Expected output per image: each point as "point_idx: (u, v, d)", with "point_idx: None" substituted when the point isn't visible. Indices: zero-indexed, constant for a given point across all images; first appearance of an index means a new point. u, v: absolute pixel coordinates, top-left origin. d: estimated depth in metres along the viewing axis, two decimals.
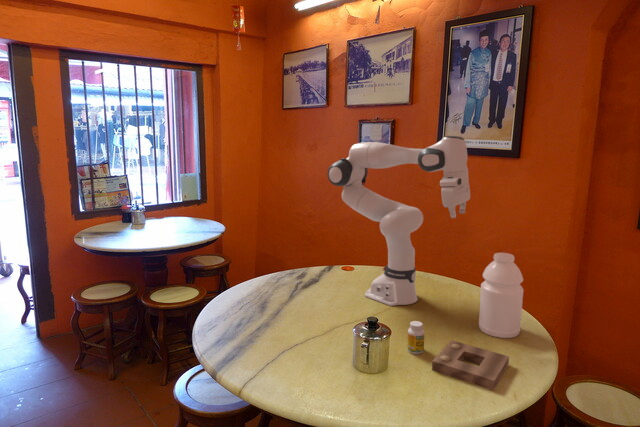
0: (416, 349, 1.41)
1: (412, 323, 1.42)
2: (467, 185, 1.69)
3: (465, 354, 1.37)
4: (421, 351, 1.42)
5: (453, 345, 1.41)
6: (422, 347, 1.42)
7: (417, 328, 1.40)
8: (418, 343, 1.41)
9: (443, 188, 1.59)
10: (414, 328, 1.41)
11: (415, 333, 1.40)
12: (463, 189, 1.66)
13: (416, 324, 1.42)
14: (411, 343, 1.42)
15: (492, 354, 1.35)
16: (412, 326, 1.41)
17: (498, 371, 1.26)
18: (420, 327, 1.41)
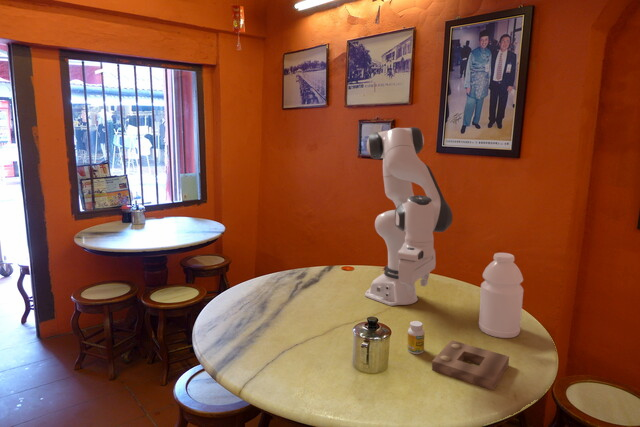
0: (416, 349, 1.41)
1: (412, 323, 1.42)
2: (432, 253, 1.42)
3: (465, 354, 1.37)
4: (421, 351, 1.42)
5: (453, 345, 1.41)
6: (422, 347, 1.42)
7: (417, 328, 1.40)
8: (418, 343, 1.41)
9: (401, 261, 1.32)
10: (414, 328, 1.41)
11: (415, 333, 1.40)
12: (426, 259, 1.40)
13: (416, 324, 1.42)
14: (411, 343, 1.42)
15: (492, 354, 1.35)
16: (412, 326, 1.41)
17: (498, 371, 1.26)
18: (420, 327, 1.41)
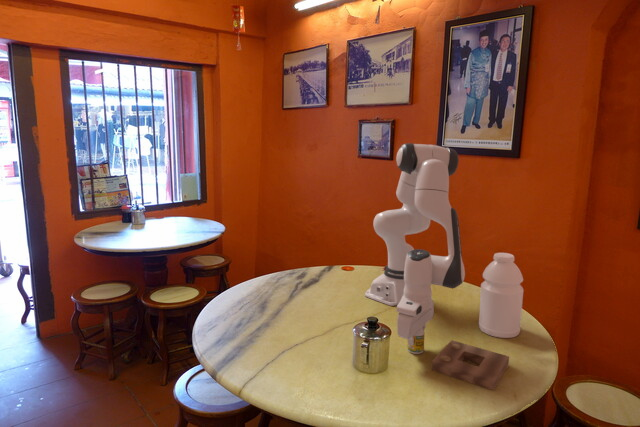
0: (416, 349, 1.41)
1: None
2: (430, 304, 1.46)
3: (465, 354, 1.37)
4: (421, 351, 1.42)
5: (453, 345, 1.41)
6: (422, 347, 1.42)
7: None
8: (418, 343, 1.41)
9: (400, 315, 1.35)
10: None
11: (415, 333, 1.40)
12: None
13: None
14: None
15: (492, 354, 1.35)
16: None
17: (498, 371, 1.26)
18: None
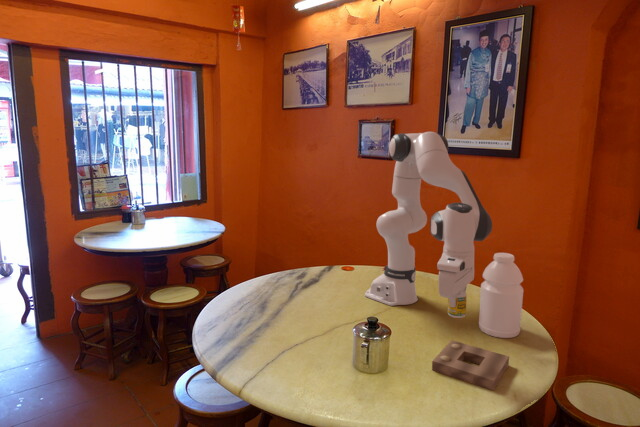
0: (458, 313, 1.30)
1: None
2: None
3: (465, 354, 1.37)
4: (463, 314, 1.31)
5: (453, 345, 1.41)
6: (464, 310, 1.30)
7: None
8: (460, 305, 1.30)
9: (441, 273, 1.24)
10: None
11: (457, 295, 1.29)
12: None
13: None
14: None
15: (492, 354, 1.35)
16: None
17: (498, 371, 1.26)
18: (462, 288, 1.30)
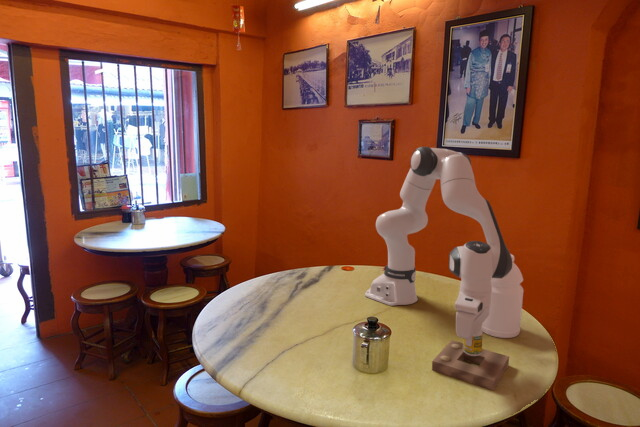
0: (474, 351, 1.30)
1: None
2: None
3: (465, 354, 1.37)
4: (479, 353, 1.30)
5: (453, 345, 1.41)
6: (480, 348, 1.30)
7: None
8: (476, 344, 1.29)
9: (459, 313, 1.24)
10: None
11: None
12: None
13: None
14: None
15: (492, 354, 1.35)
16: None
17: (498, 371, 1.26)
18: None
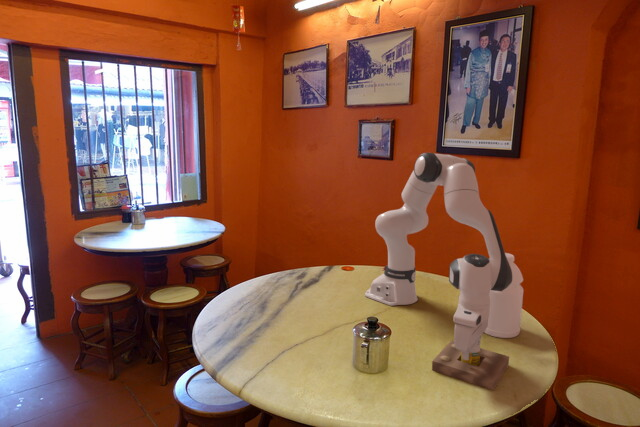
0: None
1: None
2: None
3: None
4: None
5: (453, 345, 1.41)
6: (477, 364, 1.31)
7: (473, 344, 1.30)
8: (474, 360, 1.30)
9: (457, 326, 1.24)
10: None
11: (471, 350, 1.30)
12: None
13: None
14: (466, 360, 1.31)
15: (492, 354, 1.35)
16: None
17: (498, 371, 1.26)
18: (476, 343, 1.30)
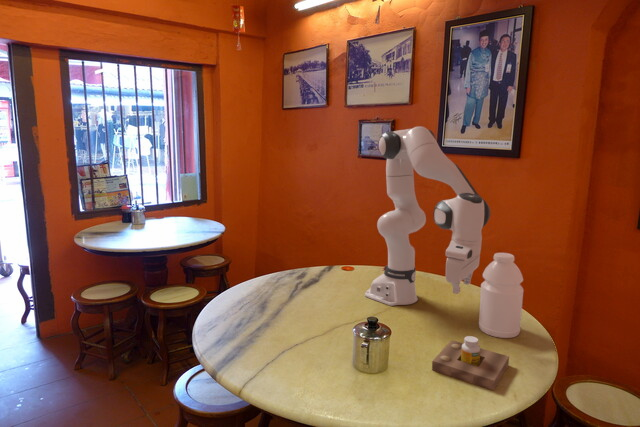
0: None
1: (467, 339, 1.31)
2: None
3: None
4: None
5: (453, 345, 1.41)
6: (477, 364, 1.31)
7: (473, 344, 1.29)
8: (474, 360, 1.30)
9: (449, 259, 1.30)
10: (469, 344, 1.30)
11: (471, 350, 1.29)
12: None
13: (471, 340, 1.31)
14: (466, 360, 1.31)
15: (492, 354, 1.35)
16: (467, 342, 1.30)
17: (498, 371, 1.26)
18: (476, 343, 1.30)
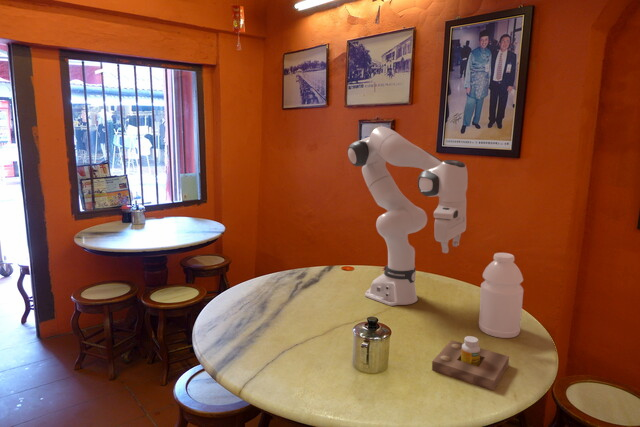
0: None
1: (467, 339, 1.31)
2: (464, 215, 1.51)
3: None
4: None
5: (453, 345, 1.41)
6: (477, 364, 1.31)
7: (473, 344, 1.29)
8: (474, 360, 1.30)
9: (437, 220, 1.41)
10: (469, 344, 1.30)
11: (471, 350, 1.30)
12: (459, 220, 1.49)
13: (471, 340, 1.31)
14: (466, 360, 1.31)
15: (492, 354, 1.35)
16: (467, 342, 1.30)
17: (498, 371, 1.26)
18: (476, 343, 1.30)
